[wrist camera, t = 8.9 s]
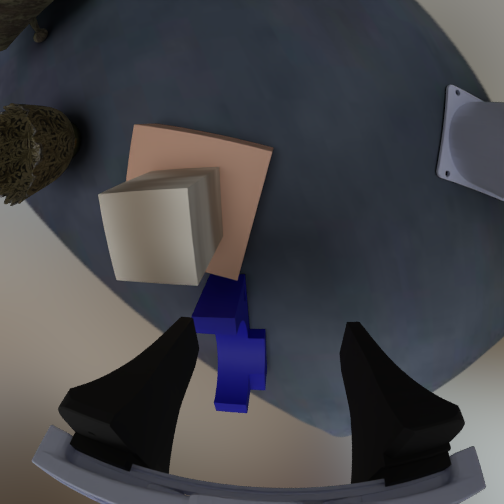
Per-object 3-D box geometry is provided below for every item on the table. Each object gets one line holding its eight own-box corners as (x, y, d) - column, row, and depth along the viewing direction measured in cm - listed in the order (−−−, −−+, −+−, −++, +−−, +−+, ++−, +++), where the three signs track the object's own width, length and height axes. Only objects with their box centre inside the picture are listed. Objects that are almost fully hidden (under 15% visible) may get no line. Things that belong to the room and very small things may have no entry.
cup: (48, 103, 18) (-15, 110, 10) (105, 98, 18) (36, 97, 10) (45, 176, 21) (-14, 201, 14) (98, 182, 21) (35, 212, 14)
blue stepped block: (266, 368, 28) (263, 413, 23) (226, 367, 29) (216, 410, 23) (263, 273, 23) (257, 318, 18) (210, 273, 24) (191, 316, 18)
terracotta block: (273, 147, 19) (272, 151, 15) (244, 255, 23) (237, 280, 19) (158, 123, 19) (134, 124, 15) (143, 228, 23) (121, 247, 19)
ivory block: (219, 166, 16) (187, 188, 11) (223, 236, 18) (198, 285, 13) (151, 171, 16) (98, 194, 11) (159, 235, 18) (116, 279, 13)
